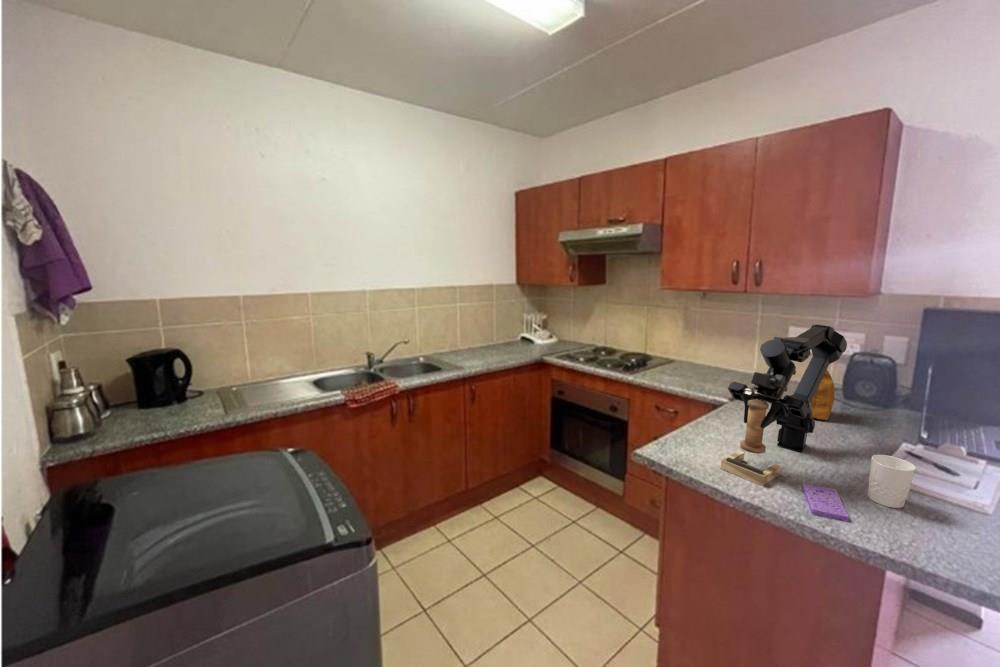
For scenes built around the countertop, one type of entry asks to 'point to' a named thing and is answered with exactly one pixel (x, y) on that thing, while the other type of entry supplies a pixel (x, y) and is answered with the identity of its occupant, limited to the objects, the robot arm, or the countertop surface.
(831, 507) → the sponges
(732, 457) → the wooden tray
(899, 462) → the white cup
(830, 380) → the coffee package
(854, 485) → the countertop surface
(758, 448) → the bobbin
